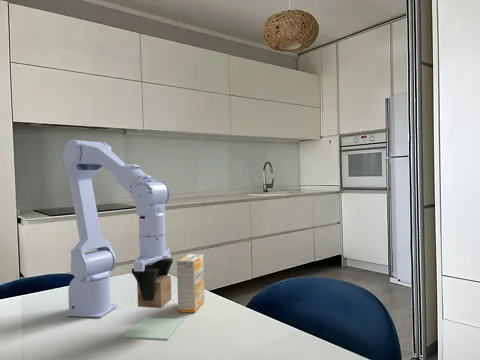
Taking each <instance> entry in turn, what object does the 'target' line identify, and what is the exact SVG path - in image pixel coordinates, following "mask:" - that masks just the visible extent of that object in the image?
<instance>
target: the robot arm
mask: <svg viewBox="0 0 480 360" xmlns="http://www.w3.org/2000/svg"><path fill="white" fill-rule="evenodd" d="M62 157H63V164H64V168H65V169H64V170H65V173H66V175H68V179H69V185H70V190H71V198H72V203H73V209H74V215H75V220H76V225H77V226H76V227H77V232H78V238H79V241H78V243H77V244H76V245H74V247H73V248H72V249H71V250H70V256H71V257H70V271H71V273H72V275H73V277H74V278H72V280H70V283H69V285H68V292H67V293H68V295H67V296H68V313H67V314H66V316H67V317H82V318H83V317H84V318H86V317H87V318H102V317H103V316H105V315H106V314H108V313H110V312H111V311H113V310H114V309H115V308H117V307H118V305H117V304H116V303H115V304H114V303H113V304H112V303H111V290H110V289H111V288H110V287H111V286H110V285H111V284H110V283H111V282H110V276H111V275H112V274H113V272H112V271H114V270H115V268H116V264H117V257H116V254H115V252H114V250H113V248H112V244H111V242H110V241H108V240H107V239H105V238H104V237H102V232H101V225H100V221H99V220H100V219H99V215H98V210H97V204H96V198H95V193H94V186H93V182H92V179H93V177H94V176H95V175H97V174H99V172H100V171H101V170H102V169H103V168H104V169H106V170H107V171H109V172H110V173H111V174H113V175H114V176H115V181H116V183H117V184H118V185H119V186H120V187H121V188H122V189H124V190H125V191H126V192H127V193H128V194H130V195H131V200H132V202H133V204H134V207H135V210H136V211H135V212H136V215H137V216H138V235H139V236H138V239H139V241H138V243H139V255H138V257H137V258H136V259H135V261H133V268H131V274H132V275H133V278H135V280H136V283H137V282H138V284H139V287H140V290H141V294H142V297H143V300H147V301H152V300H153V298H154V293H155V282H156V277H157V275H169V272H170V269H171V267H172V264H173V261H174V260H173V258H171V257H172V254H171V253H170V248H169V247H167V246H166V245H167V244H166V214H165V213H166V211H165V210H166V209H165V205H166V204H167V203H168V202H169V200H170V194H171V193H170V189H169V186H168V185H167V184H166V183H165V181H164V180H155V179H153V177H152V176H151V175H150V174H146V173H145V172H144V171H143V170H141V169H140V166H139V165H138V164H137V163H133V164H132V163H128V164H127V163H125V162H124V161H123V160H122V159H120V157H119V156H117V155H116V154H115V152H113V151H112V147H111V145H109V144H107V143H106V142H105V141H89V140H78V139H73V138H72V139H71V138H70V139H69V140H68V141H67V142H66V144H65V145H64V149H63V151H62ZM87 251H89V252H87Z"/></svg>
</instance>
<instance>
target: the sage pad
mask: <svg viewBox="0 0 480 360" xmlns="http://www.w3.org/2000/svg"><path fill="white" fill-rule="evenodd" d="M184 321H185V320H184V319H182V318H180V319H179V318H160V317H158V318H157V317H143V318H142V319H141V320H140V321H139V322H138V323H136V325H134V326H133V327H132V328H131V329H130V330H129V331H127V332H126V333H125V334H123V338H129V339H131V338H132V339H148V340H163V341H168V340H169V339H170V338H171V336H173V335H174V333H175V332H176V331H177V329H179V327H180V326H181V325H182V324H183V323H184Z"/></svg>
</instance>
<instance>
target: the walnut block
mask: <svg viewBox="0 0 480 360" xmlns="http://www.w3.org/2000/svg"><path fill="white" fill-rule="evenodd" d="M136 283H137V284H136V288H137V307H138V308H153V309H162V308H164V307H165V305H167V304H168V303H169V302H170V301H171V300H172V275H169V274H168V275H157V277H156V282H155V293H154V298H153V300H152V301H147V300H143V297H142V294H141V290H140V287H139V284H138V282H137V281H136Z"/></svg>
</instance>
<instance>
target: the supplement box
mask: <svg viewBox="0 0 480 360" xmlns="http://www.w3.org/2000/svg"><path fill="white" fill-rule="evenodd" d="M204 262H205V261H204V254H199V253H198V254H197V253H194V254H193V253H192V254H190V253H189V254H186V255H185V256H183V257H181V258H179V259H177V261H176V272H177V273H176V277H177V278H176V279H177V280H176V282H177V311H178V312H179V313H190V314H193V313H196V311H197V310H198V309H199V308H200V307H201V305H202V304H204V303H205V271H204V268H205V265H204V264H205V263H204Z"/></svg>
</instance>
